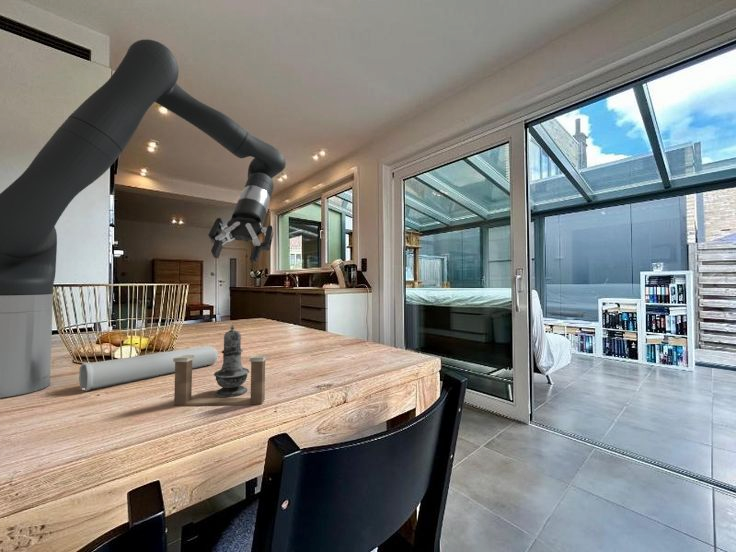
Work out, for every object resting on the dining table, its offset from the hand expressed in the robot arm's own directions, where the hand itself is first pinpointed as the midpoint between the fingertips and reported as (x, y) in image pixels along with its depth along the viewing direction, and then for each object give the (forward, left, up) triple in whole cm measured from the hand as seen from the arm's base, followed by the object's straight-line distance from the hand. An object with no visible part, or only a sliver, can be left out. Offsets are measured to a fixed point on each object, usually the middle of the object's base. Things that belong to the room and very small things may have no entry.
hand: (233, 259), depth 74 cm
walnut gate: (+6, -22, -25) cm, 34 cm away
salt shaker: (+6, -17, -25) cm, 31 cm away
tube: (-13, -5, -26) cm, 29 cm away
